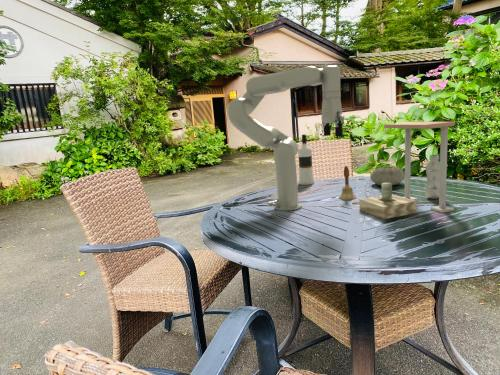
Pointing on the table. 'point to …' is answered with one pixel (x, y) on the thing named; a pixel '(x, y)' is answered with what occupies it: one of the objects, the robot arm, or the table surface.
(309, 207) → the table surface
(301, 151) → the vodka
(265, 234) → the table surface
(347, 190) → the hand bell
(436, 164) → the plastic bottle
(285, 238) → the table surface
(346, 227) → the table surface
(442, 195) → the two-post wooden stand
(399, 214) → the socket block
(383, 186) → the peg
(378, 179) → the grey rounded lump
